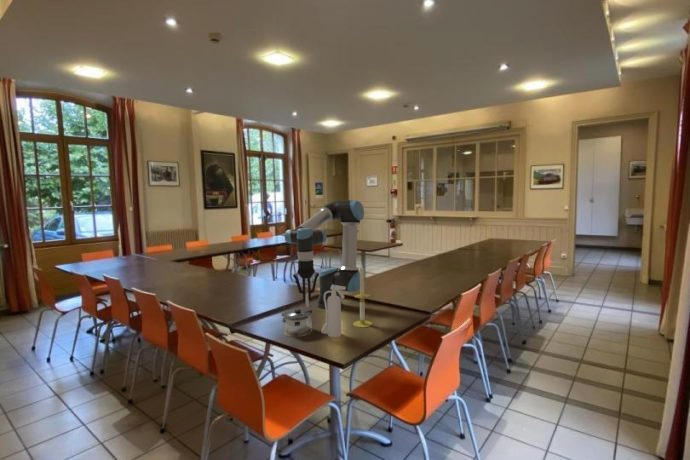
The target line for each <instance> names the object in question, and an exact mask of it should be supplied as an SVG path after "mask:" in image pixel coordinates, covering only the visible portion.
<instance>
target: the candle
mask: <svg viewBox="0 0 690 460" xmlns="http://www.w3.org/2000/svg"><path fill="white" fill-rule="evenodd" d="M359 272H360V288H359V293H355V294H354V295H353V296H354V298H355V299H359V320H356V321H354V322H353V323H352V325H353V326H354V327H356V328H370V327H372V325H373V323H372V322H371V321H369V320H366V310H365V308H366V307H365V306H366V305H365V304H366V303H365V299H367V298H368V299H369V298H370V297H371V295H370V294H369V293H365V269H364V266H363V263H361V265H360V267H359Z"/></svg>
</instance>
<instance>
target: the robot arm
mask: <svg viewBox="0 0 690 460" xmlns="http://www.w3.org/2000/svg"><path fill="white" fill-rule="evenodd" d="M364 209H365V208H364V205H363V203H361V202H360V201H359V200H354V199H353V200H334V201H332V202H329V203H327V204H325V205H323V206H322V207H320V208H319V210H318V212H316V213H315V214H314V215H312V216H311V217H310V218H308V219H307V220H305V221H304V222H303V223H302V224H300V225H298V226H297V227H295V228H294V229H293V228H291V229H287V230H286V231H285V233H284V241H285V242H286V243H287V244H290V245H291V244H292V245H297V267H298V268H297V272H295V273H293V274H292V276H293V278H294V280H295V283H296V286H297V289H298V293H299V294H302V300H303V301H305V308H310V301H311V300H312V294H313V293H315V290H316V286H317V285H316V284H317V281H318V278H319V281H318V283H319V295H318V298H317V301H316V303H317V307H318V308H320V309H324V310H325V303H324V293H325V292H327V291H332V289H330V288H331V285H338V286H344V287H346V289H345V290H341V291H342V292H343V291H344V292H349V293H350V292H352V293H355V292H357V291H358V290H360V268H358V266H357V255H358V254H357V250H358V248H357V247H358V244H357V243H358V226H359V225H360V224H361V221H363V219H364V217H365V210H364ZM335 220H336V221H338V220H339V221H340V224H341V225H342V243H341V244H342V248H341V249H342V250H341V251H342V253H341V255H342V256H341V266H340V267H327V268H323V269H321V270H319V272H317V271H315V267H314V246H318V245H319V246H320V245H322V244H324V243H326V242H327V239H328V236H327V235H328V234H327V233H326V231H325V230H323V229H320V228H321V227H322V226H324V224H326V223H330V222H331V221H335ZM299 276H300V278H301V281H302V286H301V283H300V280H299ZM313 276H314V278H313V284H312V287H311V279H312V277H313ZM306 279H307V291H306ZM311 288H312V289H311ZM329 296H331V293H327V294H326V297H325V299H326V303H327V300H328V297H329ZM336 296H339V297H340V299H341V306H342V305H343V304H342V303H343V301H342V298H341V296H340V294H339V293H338V292H337V291H336Z"/></svg>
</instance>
